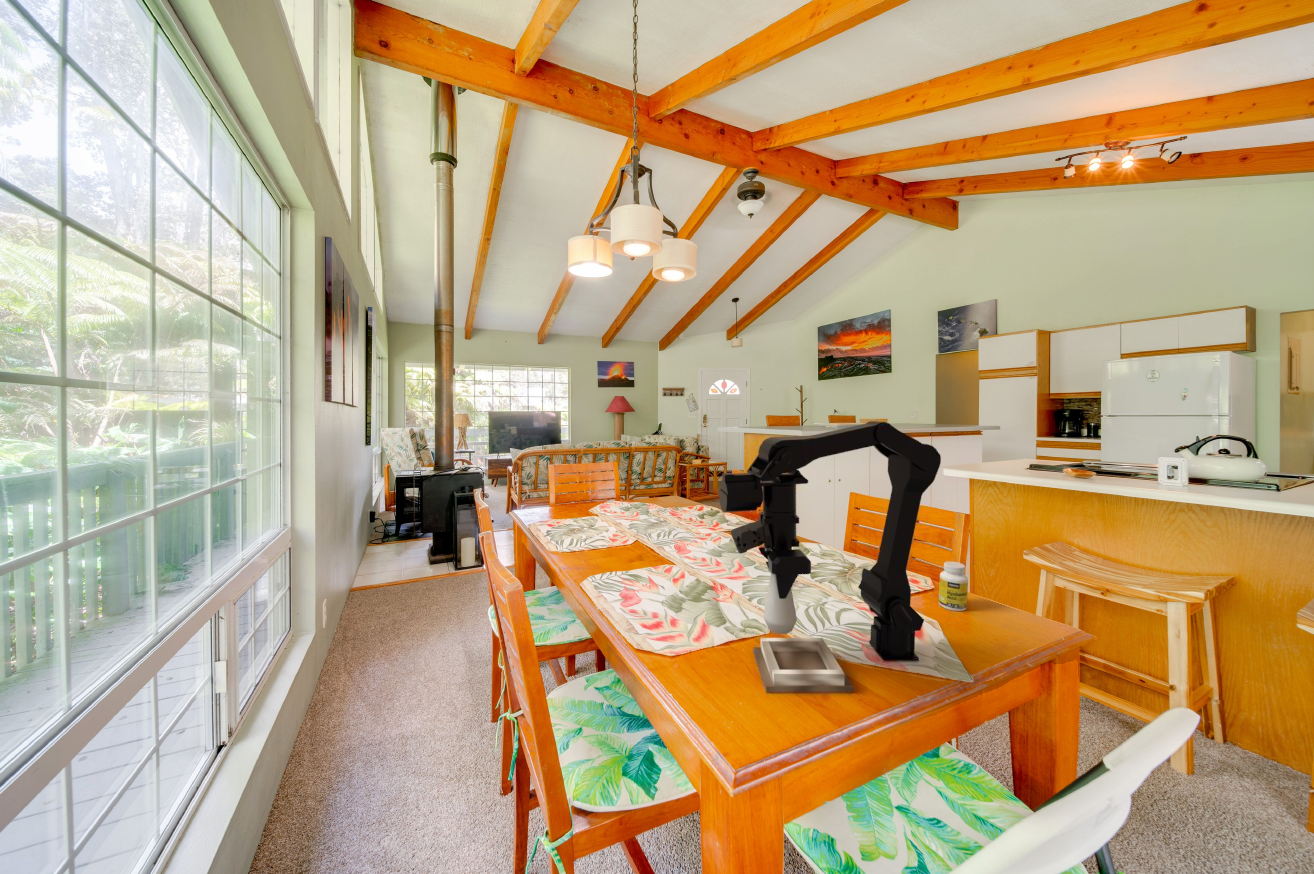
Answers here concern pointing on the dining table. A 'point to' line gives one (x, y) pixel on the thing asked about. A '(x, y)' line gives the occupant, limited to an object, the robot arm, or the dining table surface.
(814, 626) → the dining table surface
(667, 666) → the dining table surface
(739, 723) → the dining table surface
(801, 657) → the shaker stand
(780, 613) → the salt shaker
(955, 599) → the supplement bottle
